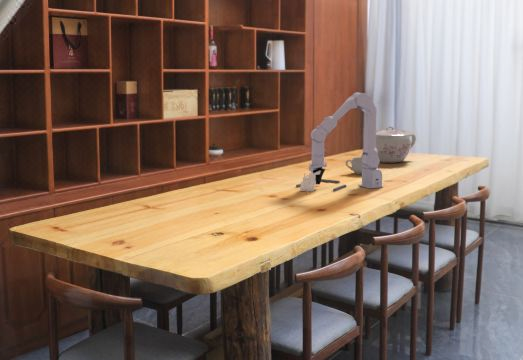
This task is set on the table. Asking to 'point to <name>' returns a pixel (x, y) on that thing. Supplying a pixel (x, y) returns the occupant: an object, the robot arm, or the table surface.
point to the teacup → (355, 165)
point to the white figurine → (309, 182)
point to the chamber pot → (393, 144)
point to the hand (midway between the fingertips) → (317, 184)
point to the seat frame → (329, 181)
